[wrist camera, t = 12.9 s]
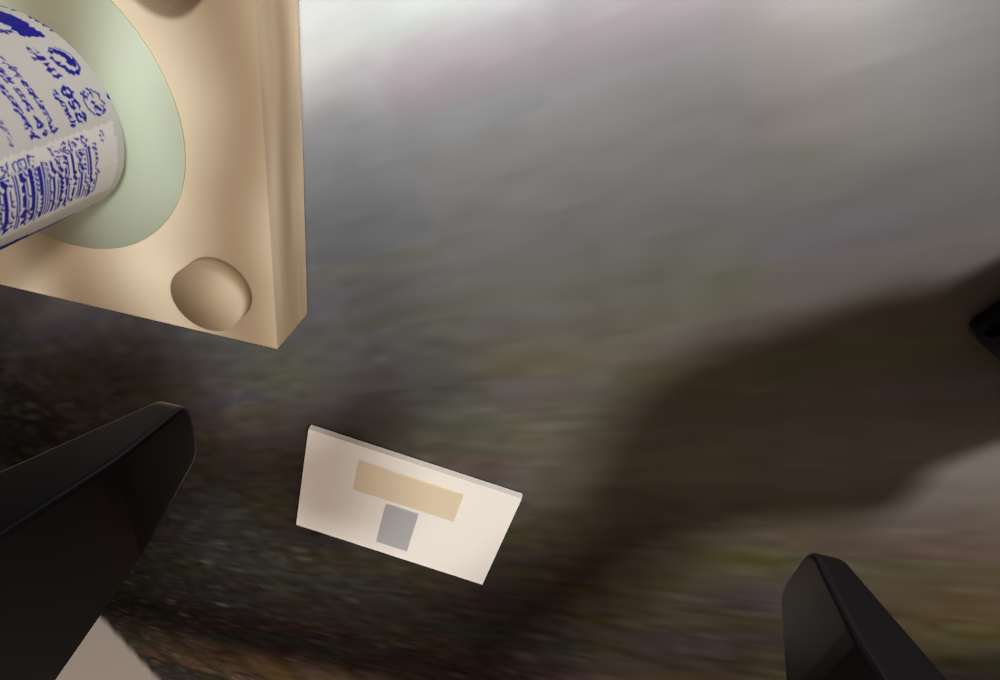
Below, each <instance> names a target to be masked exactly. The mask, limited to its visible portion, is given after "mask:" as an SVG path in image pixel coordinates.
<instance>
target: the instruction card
mask: <svg viewBox="0 0 1000 680" xmlns="http://www.w3.org/2000/svg"><path fill="white" fill-rule="evenodd" d="M521 499H522V493H519V492H516V491H513V490H510V489H507V488H504V487H501V486H498V485H495V484H492V483H489V482H486V481H482V480H479V479H476V478H473V477H470V476H467V475H464V474H461V473H458V472H455V471H452V470H449V469H446V468H443V467H440V466H436V465H433V464H430V463H427V462H424V461H421V460H418V459H415V458H412V457H409V456H406V455H403V454H400V453H397V452H394V451H390V450H387V449H384V448H381V447H378V446H375V445H372V444H369V443H366V442H363V441H360V440H357V439H354V438H351V437H348V436H344V435H341V434H338V433H335V432H332V431H329V430H326V429H323V428H320V427H317V426H314V425H311V426H310V427H309V429H308V436H307V444H306V452H305V459H304V467H303V475H302V483H301V491H300V498H299V506H298V514H297V522H296V525H299V526H302V527H305V528H308V529H311V530H314V531H318V532H321V533H324V534H327V535H330V536H333V537H336V538H339V539H342V540H345V541H349V542H352V543H355V544H358V545H361V546H364V547H367V548H370V549H373V550H376V551H380V552H383V553H386V554H389V555H392V556H395V557H398V558H401V559H404V560H407V561H411V562H414V563H417V564H420V565H423V566H426V567H429V568H432V569H435V570H438V571H442V572H445V573H448V574H451V575H454V576H457V577H460V578H463V579H466V580H469V581H473V582H476V583H479V584H483V582H484V580H485V578H486V575H487V573H488V571H489V569H490V567H491V565H492V562H493V560H494V558H495V556H496V554H497V551H498V549H499V547H500V545H501V543H502V541H503V538H504V536H505V534H506V532H507V530H508V527H509V525H510V523H511V521H512V519H513V517H514V514H515V512H516V510H517V508H518V506H519V503H520V501H521Z"/></svg>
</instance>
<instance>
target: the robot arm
mask: <svg viewBox="0 0 1000 680" xmlns="http://www.w3.org/2000/svg"><path fill="white" fill-rule="evenodd" d="M992 324H996V326H995V327H994V328H993V329H991V330H988V331H985V329H986V328H987V327H988V326H990V325H992ZM969 330H970V332H971V333H972V334H973V336H974V337H975V338H976V339H977V340H978V341H979V342H980V343H981V344H982V345H984V346H985V347H986V348H987V349H988V350H989V351H990V352H991V353H993V354H994V355H995V356H996V357H997V358H998V359H999V360H1000V301H998V302H997V303H995V304H994V305H992V306H991V307H989V308H988V309H986V310H985V311H983V312H982V313H980V314H979V315H977V316H976V317H975V318H974V319H973V320H972V321H971V323H970V326H969ZM195 455H196V441H195V436H194V430H193V425H192V420H191V415H190V412H189V411H188V409H187V408H186V407H184V406H180V405H175V404H171V403H167V402H156V403H153V404H150V405H148V406H146V407H144V408H141V409H139V410H137V411H135V412H132V413H130V414H128V415H126V416H124V417H121V418H119V419H117V420H115V421H112V422H110V423H108V424H106V425H103V426H101V427H99V428H97V429H94V430H92V431H90V432H88V433H86V434H83V435H81V436H79V437H77V438H74V439H72V440H70V441H68V442H65V443H63V444H61V445H59V446H56V447H54V448H52V449H50V450H48V451H45V452H43V453H41V454H39V455H36V456H34V457H32V458H30V459H27V460H25V461H23V462H21V463H18V464H16V465H14V466H12V467H10V468H7V469H5V470H3V471H1V472H0V680H55V679H56V678H57V676H58V675H59V674H60V672H61V671H62V669H63V667H64V666H65V665H66V664H67V662H68V661H69V659H70V658H71V656H72V655H73V653H74V652H75V651H76V649H77V647H78V646H79V645H80V643H81V642H82V640H83V639H84V638H85V636H86V635H87V633H88V632H89V630H90V629H91V628H92V626H93V625H94V623H95V622H96V620H97V619H98V617H99V616H100V615H101V613H102V612H103V610H104V609H105V607H106V606H107V605H108V603H109V602H110V600H111V599H112V597H113V596H114V594H115V593H116V592H117V590H118V589H119V587H120V586H121V584H122V583H123V582H124V580H125V579H126V577H127V576H128V574H129V573H130V571H131V570H132V568H133V567H134V565H135V564H136V562H137V561H138V559H139V558H140V556H141V555H142V553H143V552H144V550H145V548H146V546H147V545H148V543H149V541H150V540H151V538H152V536H153V534H154V532H155V531H156V529H157V527H158V525H159V523H160V522H161V520H162V518H163V516H164V514H165V512H166V511H167V509H168V507H169V505H170V503H171V502H172V500H173V498H174V496H175V494H176V493H177V491H178V489H179V487H180V485H181V484H182V482H183V480H184V478H185V476H186V474H187V473H188V471H189V469H190V467H191V465H192V463H193V461H194V459H195ZM782 615H783V630H784V645H785V660H786V675H787V680H947V679H946V678H945V677H944V676H943V675H942V674H941V672H940V671H939V670H938V669H937V668H936V667H935V665H934V664H933V663H932V662H931V661H930V660H929V659H928V657H927V656H926V655H925V654H924V653H923V652H922V650H921V649H920V648H919V647H918V646H917V645H916V644H915V642H914V641H913V640H912V639H911V638H910V637H909V635H908V634H907V633H906V632H905V631H904V630H903V628H902V627H901V626H900V625H899V624H898V623H897V622H896V620H895V619H894V618H893V617H892V616H891V615H890V613H889V612H888V611H887V610H886V609H885V608H884V606H883V605H882V604H881V603H880V602H879V601H878V600H877V598H876V597H875V596H874V595H873V594H872V593H871V591H870V590H869V589H868V588H867V587H866V586H865V585H864V583H863V582H862V581H861V580H860V579H859V578H858V576H857V575H856V574H855V573H854V572H853V571H852V569H851V568H850V567H849V566H848V565H847V564H846V563H845V562H843V561H842V560H840V559H838V558H834V557H829V556H825V555H821V554H817V553H812V554H810V555H808V556H807V557H806V558H805V559H804V560H803V562H802V563H801V564H800V566H799V567H798V569H797V570H796V571H795V573H794V574H793V576H792V577H791V578H790V580H789V581H788V583H787V584H786V586H785V588H784V590H783V595H782Z"/></svg>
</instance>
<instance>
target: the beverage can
mask: <svg viewBox="0 0 1000 680" xmlns="http://www.w3.org/2000/svg"><path fill="white" fill-rule="evenodd" d="M123 165H124V139H123V134H122V129H121V126H120V122H119V119H118V116H117V113H116V110H115V108H114V106H113V103H112V101H111V99H110V96H109V95H108V93H107V92H106V90H105V88H104V87H103V85H102V83H101V82H100V80H99V79H98V77H97V75H96V74H95V73H94V71H93V70H92V69H91V67H90V66H89V65H88V64H87V62H86V61H85V60H84V59H83V58H82V56H81V55H80V54H79V53H78V52H77V51H76V50H75V49H74V48H73V47H72V46H71V45H69V44H68V43H67V42H66V41H65V40H64V39H63V38H62V37H60V36H59V35H58V34H57V33H55V32H54V31H53V30H52V29H50V28H49V27H47V26H46V25H44V24H42V23H41V22H39V21H37V20H36V19H34V18H32V17H30V16H28V15H26V14H24V13H22V12H20V11H17V10H14V9H12V8H8V7H4V6H0V250H2V249H4V248H6V247H8V246H10V245H12V244H14V243H16V242H18V241H20V240H22V239H24V238H26V237H28V236H30V235H32V234H34V233H36V232H38V231H40V230H43V229H45V228H47V227H49V226H51V225H53V224H55V223H57V222H59V221H61V220H63V219H65V218H67V217H69V216H71V215H73V214H75V213H77V212H79V211H81V210H83V209H86V208H88V207H90V206H92V205H94V204H96V203H98V202H100V201H101V200H103V199H104V198H106V197H107V196H108V195H109V194H110V193H111V192H112V191H113V190H114V189H115V187H116V185H117V183H118V182H119V179H120V177H121V174H122V171H123Z"/></svg>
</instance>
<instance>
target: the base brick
mask: <svg viewBox="0 0 1000 680" xmlns="http://www.w3.org/2000/svg"><path fill="white" fill-rule="evenodd" d="M0 6H4V7H8V8H12V9H14V10H17V11H20V12H22V13H24V14H26V15H28V16H30V17H32V18H34V19H36V20H37V21H39V22H41V23H42V24H44V25H46V26H47V27H49V28H50V29H52V30H53V31H54V32H55V33H57V34H58V35H59V36H60V37H62V38H63V39H64V40H65V41H66V42H67V43H68V44H69V45H71V46H72V47H73V48H74V49H75V50H76V51H77V52H78V53H79V54H80V55H81V56H82V58H83V59H84V60H85V61H86V62H87V64H88V65H89V66H90V67H91V69H92V70H93V71H94V73H95V74H96V75H97V77H98V79H99V80H100V82H101V83H102V85H103V87H104V88H105V90H106V92H107V93H108V95H109V96H110V99H111V101H112V103H113V106H114V108H115V110H116V113H117V116H118V119H119V122H120V126H121V129H122V134H123V139H124V165H123V171H122V174H121V177H120V179H119V182H118V183H117V185H116V187H115V189H114V190H113V191H112V192H111V193H110V194H109V195H108V196H107V197H106V198H104V199H103V200H101V201H100V202H98V203H96V204H94V205H92V206H90V207H88V208H86V209H83V210H81V211H79V212H77V213H75V214H73V215H71V216H69V217H67V218H65V219H63V220H61V221H59V222H57V223H55V224H53V225H51V226H49V227H47V228H45V229H43V230H40V231H38V232H36V233H34V234H32V235H30V236H28V237H26V238H24V239H22V240H20V241H18V242H16V243H14V244H12V245H10V246H8V247H6V248H4V249H2V250H0V284H1V285H5V286H10V287H14V288H18V289H22V290H27V291H31V292H35V293H40V294H44V295H48V296H52V297H57V298H61V299H65V300H70V301H74V302H78V303H83V304H87V305H91V306H95V307H100V308H104V309H108V310H113V311H117V312H121V313H125V314H130V315H134V316H138V317H143V318H147V319H151V320H155V321H160V322H164V323H168V324H173V325H177V326H181V327H185V328H190V329H194V330H198V331H203V332H207V333H211V334H216V335H220V336H224V337H228V338H233V339H237V340H241V341H246V342H250V343H254V344H258V345H263V346H267V347H271V348H276V349H278V348H279V346H280V345H281V344H282V343H283V342H284V341H285V339H286V338H287V337H288V336H289V335H290V333H291V332H292V331H293V330H294V329H295V327H296V326H297V325H298V324H299V323H300V322H301V320H302V319H303V318H304V317H305V316H306V314H307V290H306V253H305V215H304V178H303V140H302V103H301V65H300V28H299V0H0Z"/></svg>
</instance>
